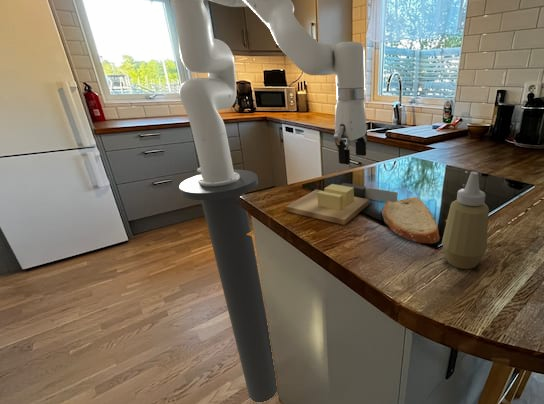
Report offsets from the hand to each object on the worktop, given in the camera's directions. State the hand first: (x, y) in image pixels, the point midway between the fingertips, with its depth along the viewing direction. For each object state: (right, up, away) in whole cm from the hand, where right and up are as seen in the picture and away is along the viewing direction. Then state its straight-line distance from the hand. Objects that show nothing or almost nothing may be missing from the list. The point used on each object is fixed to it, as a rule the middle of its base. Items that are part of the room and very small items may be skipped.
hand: (353, 159), depth 84 cm
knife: (+4, -11, +3) cm, 12 cm away
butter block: (-4, -12, -2) cm, 13 cm away
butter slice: (-6, -14, -6) cm, 16 cm away
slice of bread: (+15, -17, -11) cm, 25 cm away
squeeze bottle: (+22, -24, -26) cm, 42 cm away
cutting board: (-7, -14, -3) cm, 16 cm away
